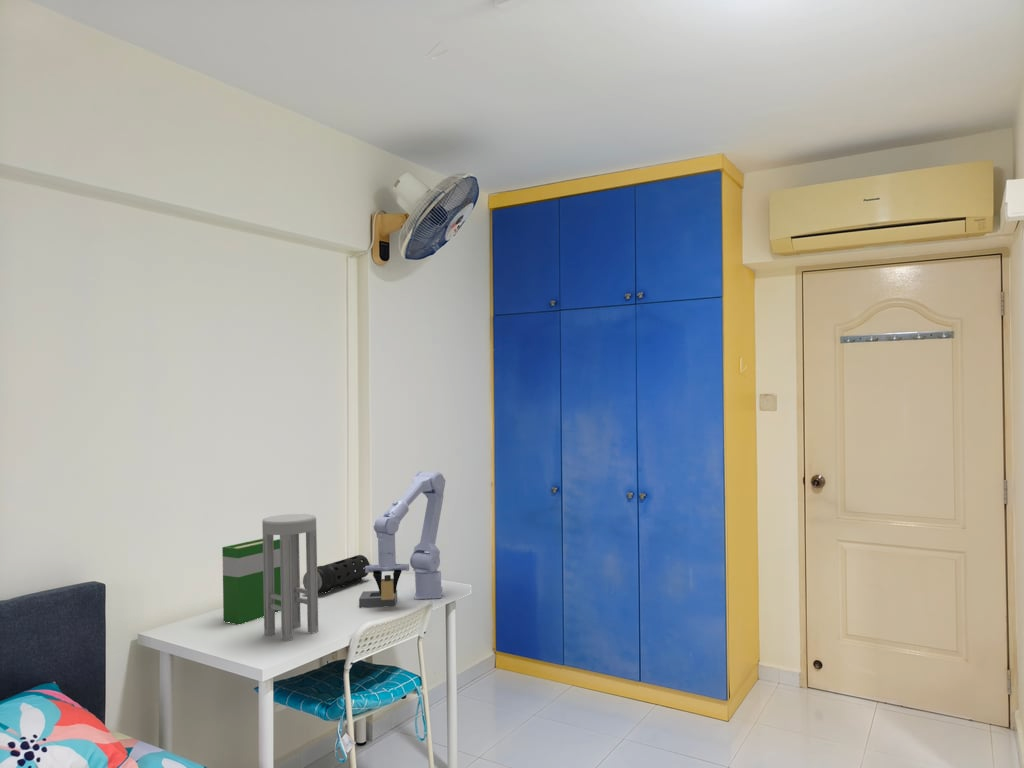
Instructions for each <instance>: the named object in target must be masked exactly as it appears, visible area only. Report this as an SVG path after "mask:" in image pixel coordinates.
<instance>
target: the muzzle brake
mask: <svg viewBox="0 0 1024 768" xmlns="http://www.w3.org/2000/svg"><path fill="white" fill-rule="evenodd" d="M366 566H371V565H370V562H369V560H368V558H367V557H366V556H364V555H362V554H358V555H353V556H350V557H347V558H343V559H341V560H337V561H333V562H331V563H327V564H323V565H317V585H318V595H319V594H326V593H325V592H328V591H330V592H332V589H333V590H334V589H337V588H343V587H344V586H348V584H349V585H351V583H352V584H354V582H355V583H357V581H358V582H360V581H362V579H363V578H365V577H367V576H368V575H369V573H365V567H366ZM359 580H360V581H359ZM302 584H303V589H307V571H306V572H305V573H304V575H303V578H302ZM342 586H343V587H342ZM322 592H323V593H322ZM328 593H329V592H328Z"/></svg>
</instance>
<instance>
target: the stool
mask: <svg viewBox="0 0 1024 768" xmlns="http://www.w3.org/2000/svg"><path fill="white" fill-rule="evenodd" d="M261 527H262V539H263V584H264V617H263V624H264V625H263V628H264V629H263V630H264V634H265V636H267V635H268V636H269V635H270V636H273V635H276V613H275V610H279V611H280V612H281V613H280V616H281V617H280V618H281V619H280V620H281V621H280V622H281V624H280V625H281V641H283V640H284V641H283V642H289V641H292V640H291V639H294V636H293V635H294V634H293V631H294V630H293V629H297V628H300V626H301V625H302V624H301V623H302V621H301V604H302V605H303V604H304V605H306V607H307V608H306V609H307V610H306V611H307V612H306V613H307V614H306V615H307V633H308V632H311V633H310V634H314V633H313V632H315V633H317V632H316V631H318V632H319V597H318V596H319V594H318V585H317V567H318V542H317V539H318V538H317V517H316V516H315V515H314V514H311V513H310V514H307V513H289V514H288V513H287V514H278V515H273V516H269V517H265V518H263V519H262V525H261ZM304 533H305V551H306V552H305V555H306V556H305V560H306V572H307V589H305V588H304V587H301V579H300V578H301V577H300V576H301V575H300V565H301V564H300V534H304ZM274 536H279V539H280V572H281V595H277V594H274V540H275V539H274ZM301 594H304V595H306V598H304V597H301ZM275 599H276V600H280V601H281V606H280V605H276V604H275ZM272 634H273V635H272ZM268 636H267V637H268ZM270 636H269V637H270ZM288 640H289V641H288Z"/></svg>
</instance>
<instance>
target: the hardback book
mask: <svg viewBox="0 0 1024 768" xmlns="http://www.w3.org/2000/svg"><path fill="white" fill-rule="evenodd" d="M273 540H274V594H277V595H281V572H280V538H278V539H273ZM222 598H223V599H222V601H223V602H222V603H223V606H222V608H223V609H222V610H223V614H222V615H223V622H224V621H225V622H224V623H226V622H230V623H229V624H232V623H235V624H234V625H237V624H240V625H242V623H243V624H246V623H249V622H252V621H255V620H257V618H258V619H261V618H264V617H263V616H264V584H263V538H259V539H254V540H250V541H245V542H240V543H236V544H231V545H227V546H226V545H225V546H222ZM275 604H276V605H280V606H281V601H280V600H276V599H275ZM278 611H279V610H275V612H277V613H279V612H278ZM260 617H261V618H260ZM245 622H246V623H245Z"/></svg>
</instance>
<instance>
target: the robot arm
mask: <svg viewBox="0 0 1024 768" xmlns="http://www.w3.org/2000/svg"><path fill="white" fill-rule="evenodd" d="M445 487H446V479H445V477H444V475H443V474H442V473H441V472H430V471H429V472H428V471H427V472H426V471H419V472H417V473H416V474H415V476H414V477H412V483H411V484H410V486H409V487H408V489H407V490H406V492H405V493H404V495H403V496H402V497H401V499H400V500H399V499H397V500H395V501H393V502H392V503H391V506H390V507H389V508H388V509H387V510H386V511H385V512H384V514H383V515H382V516H379V517H378V518H376V520H375V522H374V525H373V529H374V531H375V533H376V538H377V549H378V550H377V552H378V557H377V558H378V564H371V565H370V566H366V567H365V573H368V574H369V573H373V574H372V576H373V578H374V580H375V582H376V584H377V588H378V591H379V592H380V594H381V581H382V579H383V576H382V573H384V572H393V573H392V575H393V577H392V579H393V578H394V593H396V590H397V587H398V582H399V579H400V577H401V574H402V572H403V571H405V572H409V571H410V566H411V568H412V569H413V572H414V582H415V586H414V587H415V593H414V596H413V599H414V600H429V599H430V600H431V598H432V599H441V598H442V593H443V586H442V571H441V570H438V569H439V566H440V564H441V557H440V554H441V551H440V550H439V547H438V546H436V542H437V536H438V531H439V524H440V519H441V511H442V507H443V501H444V493H445V492H444V491H445ZM421 494H423V495H424V496H425V497H426V498H427V503H426V508H425V515H424V518H423V524H422V531H421V536H420V540H419V541H420V542H418V544H417V545H416V546H414V547H413V552H412V554H411V555H410V559H409V563H397V560H396V557H397V556H396V533H397V532H398V530H399V526H400V524H401V521H402V520H403V519H404V517H405V516H406V515H407V514H408V513H409V511H410V510H409V506H410V505H411V504H412V503H413V502H414V501H415V500H416V499H417V498H418V496H419V495H421Z"/></svg>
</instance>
